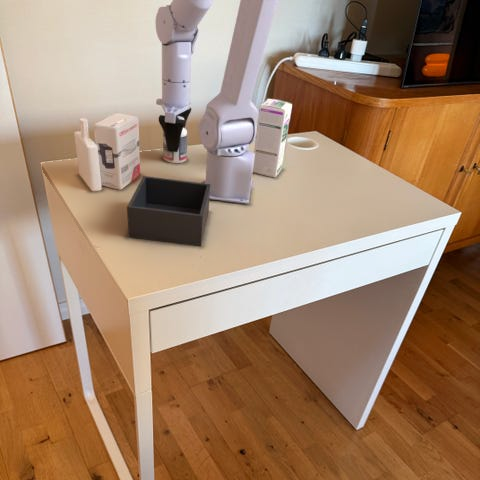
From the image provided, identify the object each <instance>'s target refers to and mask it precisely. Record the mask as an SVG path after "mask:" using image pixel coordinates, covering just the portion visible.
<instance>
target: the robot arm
mask: <svg viewBox="0 0 480 480" xmlns="http://www.w3.org/2000/svg"><path fill="white" fill-rule="evenodd" d="M213 2H214V0H172V1H171V2H170V4H167V5H165V6H160V7H159V8H158V9H157V12H156V15H155V21H154V23H155V32H156V35H157V38H158V40H159V41H160V43H161V98H157V99H156V100H155V104H156V105H157V106H161V108H162V110H163V112H164V114H160V115H159V116H158V123H159V125H160V127H161V130H162V133H163V132H164V135H165V139H166V144H167V149H168V151H172V152H178V149H179V145H180V138H181V133H182V130H183V128H185V129H186V125H187V121H188V118H189V116H190V114H191V112H192V107H191V101H190V100H191V99H190V98H191V97H190V96H191V69H192V55H193V54H194V52H195V44H196V42H197V40H198V37H199V28H198V26H199V25H200V23H201V21H202V20H203V18H204V17H205V15H206V14H207V13H208V11H209V9H211V7H212V5H213ZM278 3H279V0H240V2H239V6H238V11H237V16H236V19H235V24H234V28H233V33H232V38H231V42H230V47H229V51H228V56H227V60H226V65H225V70H224V73H223V78H222V83H221V87H220V91H219V92H218V93H217V95H216V96H214V97H213V98H212V99H211V100H210V101H209V102H208V103H207V104H206V106H205V107H206V108H205V111H204V112H203V113H204V114H203V115H202V116H201V118H200V119H199V124H198V136H199V139H200V142H201V144H202V145H203V147H204V149H206V151H207V152H206V164H205V165H206V166H205V168H206V169H205V180H204V184H210V199H209V200H213V201H221V202H230V203H237V204H245V205H247V204H249V203H250V196H251V191H253V185H254V181H253V173H254V172H253V165H254V157H255V153H254V151H249V146H250V145H251V144H253V143H254V142H255V141H256V133H257V124H258V116H259V109H258V108H257V107H256V105H255V103H253V101H252V97H253V93H254V89H255V85H256V83H257V79H258V74H259V71H260V67H261V65H262V61H263V57H264V53H265V49H266V46H267V42H268V39H269V35H270V31H271V28H272V24H273V20H274V18H275V13H276V10H277V6H278ZM177 116H181V117H183V118H184V120H182V119H179V118H177Z"/></svg>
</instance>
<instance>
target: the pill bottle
mask: <svg viewBox="0 0 480 480" xmlns="http://www.w3.org/2000/svg"><path fill="white" fill-rule="evenodd" d="M177 118H179V119H182V120H184V118H183V117H181V116H177ZM162 158H163V160H164V161H165V162H167V163H172V164H181V163H185V162H186V161H187V158H188V131H187V129H186V127H185V128H183V130H182V133H181V138H180V145H179V149H178V152H172V151H168V149H167V144H166V139H165V135H164V132H163V131H162Z"/></svg>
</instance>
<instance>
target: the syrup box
mask: <svg viewBox="0 0 480 480" xmlns="http://www.w3.org/2000/svg"><path fill="white" fill-rule="evenodd" d="M292 108H293V103H292V102H289V101H286V100H283V99H282V100H281V99H275V98H267V99H266V100H265V101H263V102H262V103H261V104H260V105H259V108H258V112H259V115H258V118H257V133H256V137H255V140H254V142H255V143H254V150H253V153H255V157H254V165H253V173H255V174H257V175H261V176H266V177H271V178H276V177H277V176H278V175H279V174H280V172H281V171H282V170H283V166H284V160H285V153H286V147H287V141H288V134H289V128H290V121H291V116H292V115H291V114H292V110H293V109H292Z"/></svg>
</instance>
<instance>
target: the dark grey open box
mask: <svg viewBox="0 0 480 480" xmlns="http://www.w3.org/2000/svg"><path fill="white" fill-rule="evenodd" d="M204 183H205V182H204ZM204 183H203V182H194V181H188V180H181V179H180V180H179V179H173V178H172V179H171V178H164V177H158V176H157V177H155V176H147V175H142V178H141V180H140V181H139V183H138V185H137V187H136V189H135V190H134V193H133V194H132V197H131V198H130V201H129V202H128V204H127V206H126V214H127V215H126V216H127V217H126V218H127V231H128V238H131V239H140V240H148V241H157V242H164V243H173V244H181V245H188V246H189V245H190V246H196V247H197V246H198V247H201V246H202V243H203V239H204V235H205V231H206V226H207V222H208V216H209V211H210V200H211V199H210V184H204Z"/></svg>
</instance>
